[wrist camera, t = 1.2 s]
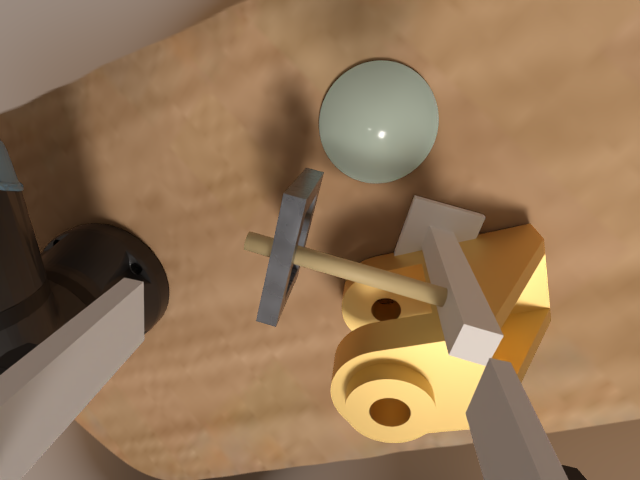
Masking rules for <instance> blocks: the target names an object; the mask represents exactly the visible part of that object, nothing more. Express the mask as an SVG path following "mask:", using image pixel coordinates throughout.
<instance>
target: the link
mask: <svg viewBox="0 0 640 480" xmlns="http://www.w3.org/2000/svg"><path fill="white" fill-rule="evenodd" d="M323 174H324V172H320V171H317V170H313V169H310V168H305V170H304V171H303V172H302V173H301V174H300V175H299V176H298V177H297V179H296V180H295V181H294V182H293V183H292V184H291V185H290V187H289V188H288V189H287V190H286V191H285V192H284V194H283V199H282V203H281V208H280V213H279V217H278V222H277V227H276V231H275V236H274V240H273V245H272V250H271V254H270V259H269V264H268V268H267V273H266V278H265V282H264V287H263V292H262V296H261V301H260V306H259V310H258V315H257V320H256V321H258V322H261V323H265V324H268V325H272V326H275V327H276V325H277V323H278V321H279V318H280V316H281V314H282V311H283V309H284V307H285V304H286V302H287V300H288V297H289V295H290V293H291V290H292V288H293V286H294V283H295V281H296V279H297V276H298V272H299V268H300V266H299V265H295V264H293V263H294V259H295V255H296V251H297V247H298V245H299V246H302V247H305V245H306V241H307V237H308V233H309V229H310V225H311V221H312V217H313V213H314V209H315V205H316V201H317V198H318V194H319V190H320V186H321V182H322V178H323Z"/></svg>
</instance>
